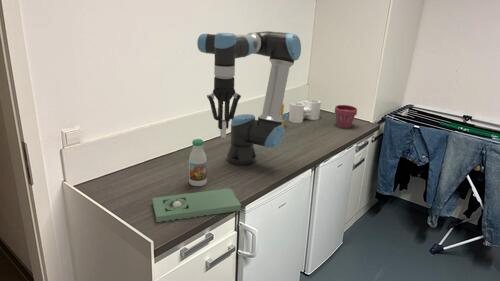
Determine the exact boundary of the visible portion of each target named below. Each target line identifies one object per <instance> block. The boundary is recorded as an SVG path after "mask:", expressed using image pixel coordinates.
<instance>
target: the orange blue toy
mask: <svg viewBox="0 0 500 281" xmlns="http://www.w3.org/2000/svg"><path fill="white" fill-rule="evenodd" d="M284 108H285V104H284V103H283V104H282V109H281V114H280V119H281V120H282V126H284V127H285V122H287V121H289V114H288V113H287V112H284V110H285V109H284Z"/></svg>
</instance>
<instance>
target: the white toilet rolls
mask: <svg viewBox="0 0 500 281" xmlns="http://www.w3.org/2000/svg"><path fill="white" fill-rule="evenodd" d="M321 102H322V101H321V100H319V99H314V98H311V101H308V100H303V101H296V104H293V103H292V102H290V103H289V110H288V113H289V114H288V118H289V119H288V121H289V122H291V123H295V124H300V123H303V122H304V119H307V120H309V121H310V120H311V121H315V120H316V121H317V120H319V119H320V112H321V104H322V103H321Z"/></svg>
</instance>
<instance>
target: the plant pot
mask: <svg viewBox="0 0 500 281" xmlns="http://www.w3.org/2000/svg"><path fill="white" fill-rule="evenodd" d="M334 113H335V118H336V119H335V120H336V122H335V123H336V126H337V127H338V128H340V127H341V128H342V129H350V128H351V126H352V125H353V121H354V119H355V116H356V115H357V114H358V108H357V107H355V106H353V105H349V104H348V105H347V104H337V105H335V106H334Z"/></svg>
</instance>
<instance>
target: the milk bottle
mask: <svg viewBox="0 0 500 281" xmlns="http://www.w3.org/2000/svg"><path fill="white" fill-rule="evenodd" d="M191 144H192V150H191V151H190V154H189V156H188V183H189V185H191V186H194V187H202V186H204V185H206V184H207V179H208V172H207V171H208V165H207V164H208V161H207V160H208V158H207V155H206V153H205V150H204V147H203V146H204V140H203V139H202V138H195V139H193V140H192V142H191Z"/></svg>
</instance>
